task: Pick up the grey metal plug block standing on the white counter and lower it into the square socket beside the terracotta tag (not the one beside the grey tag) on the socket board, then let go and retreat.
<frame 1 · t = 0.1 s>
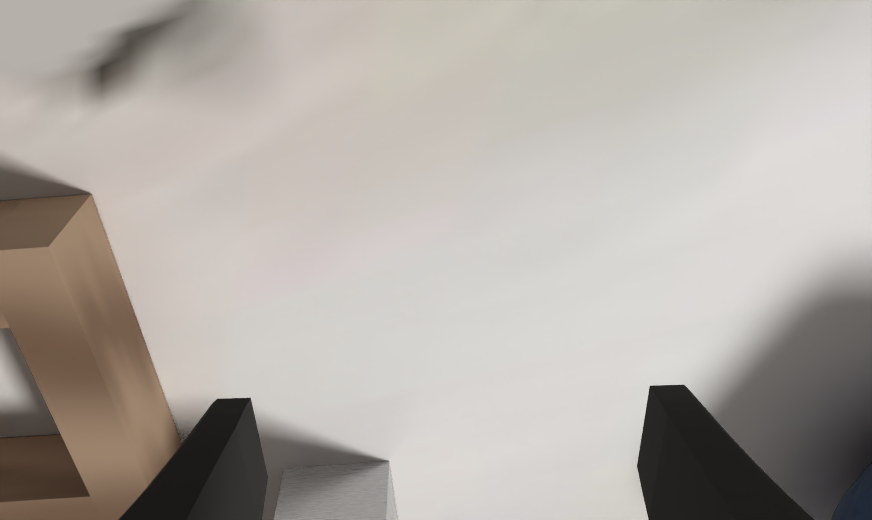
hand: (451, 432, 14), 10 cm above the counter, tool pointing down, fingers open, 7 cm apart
socket board: (41, 465, 28), on the counter
plug: (344, 499, 30), on the counter
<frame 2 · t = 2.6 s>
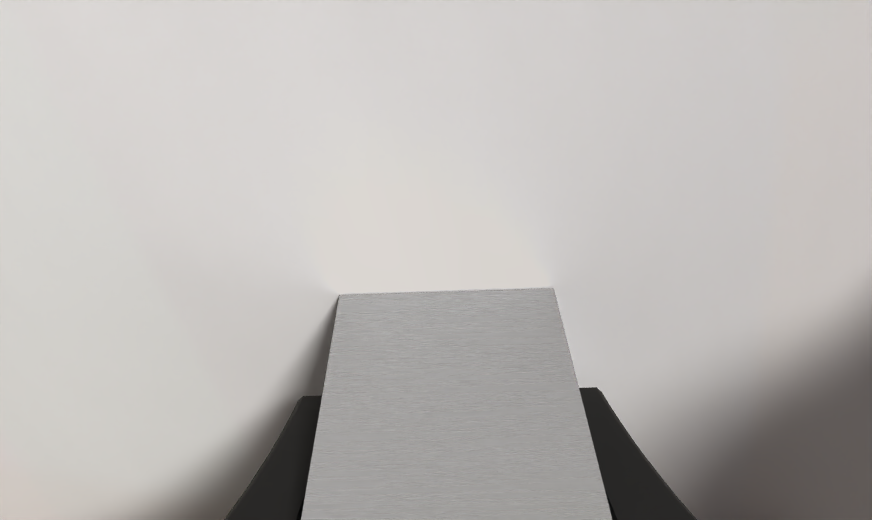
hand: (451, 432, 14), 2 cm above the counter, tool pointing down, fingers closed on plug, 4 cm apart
plug: (448, 373, 15), on the counter, touching gripper
when the fingers open (4 cm above the counter, at t = 6.7 s): plug drops 1 cm, resting in socket board.
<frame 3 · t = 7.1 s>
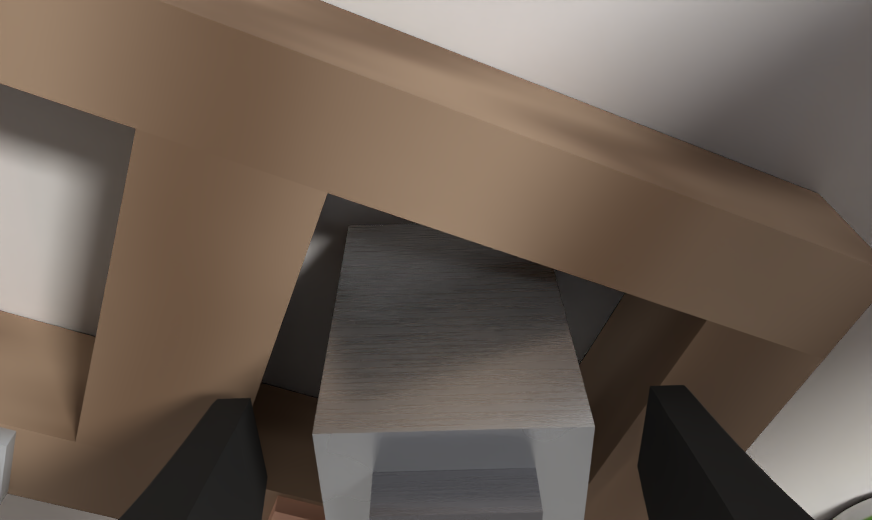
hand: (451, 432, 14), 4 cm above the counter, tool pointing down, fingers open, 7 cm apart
socket board: (226, 243, 16), on the counter
plug: (446, 300, 17), resting in socket board
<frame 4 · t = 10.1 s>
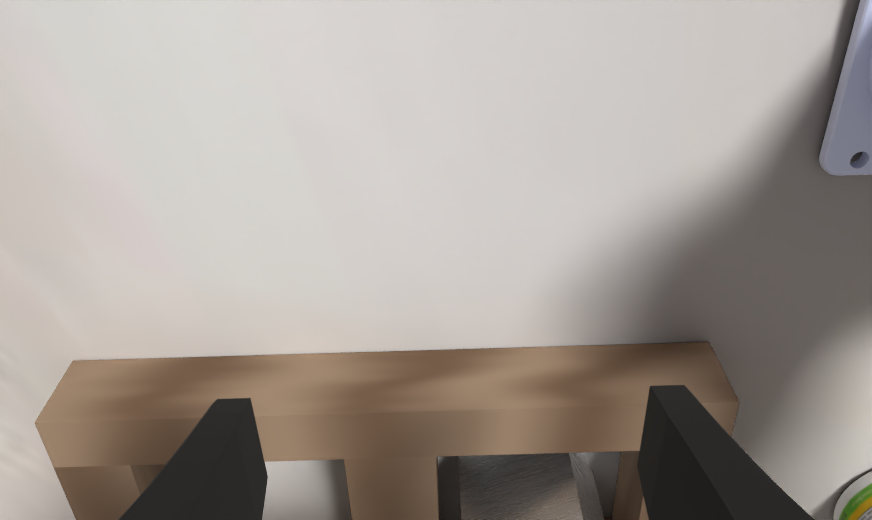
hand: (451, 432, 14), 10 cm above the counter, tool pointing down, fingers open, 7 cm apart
socket board: (398, 463, 29), on the counter
plug: (526, 453, 29), resting in socket board
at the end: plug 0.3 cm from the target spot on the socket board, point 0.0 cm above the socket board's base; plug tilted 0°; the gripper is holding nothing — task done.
